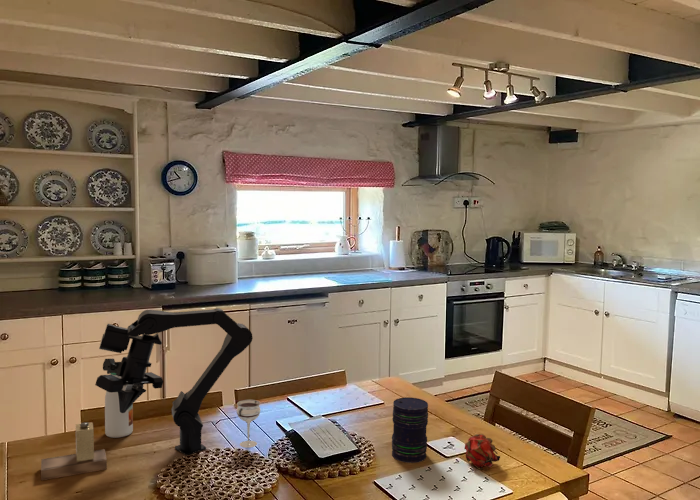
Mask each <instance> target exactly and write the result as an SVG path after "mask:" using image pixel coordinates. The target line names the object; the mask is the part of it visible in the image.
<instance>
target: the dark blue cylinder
mask: <svg viewBox="0 0 700 500" xmlns="http://www.w3.org/2000/svg"><path fill="white" fill-rule="evenodd" d="M392 405H393V406H392V407H393V409H392V423H393V429H392V430H393V431H392V436H391V449H392V451H391V456H392V458H394V459H395V460H396V461H399V462H402V463H407V464H414V463H420V462H423V461H424V460H426V459H427V449H428V436H427V426H428V423H429V419H428V418H429V403H428V401H426V400H424V399H421V398H418V397H405V396H404V397H399V398H396V399H394V400H393V403H392Z"/></svg>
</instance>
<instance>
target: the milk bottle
mask: <svg viewBox="0 0 700 500" xmlns="http://www.w3.org/2000/svg"><path fill="white" fill-rule="evenodd" d="M109 375H113V376H115V377H117V378H119V379H120V378H121V376H117V375H116V373H110V374H109ZM104 395H105V396H104V429H105V430H104V433H105V435H106V436H107V437H109V438H112V439H113V438H114V439H115V438H116V439H117V438H124V437H126V436H129V435H131V434H132V433H133V430H134V406H133V405H134V403H133V404H132V405H131V406H130V407H129V408H128V410H127V411H126V412H125V413H121V412H120V408H119V396H118V392H112V393H111V392H107V391H106V390H105V394H104Z"/></svg>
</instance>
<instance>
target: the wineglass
mask: <svg viewBox="0 0 700 500" xmlns="http://www.w3.org/2000/svg"><path fill="white" fill-rule="evenodd" d="M236 405H237V408H236V415H237V417H238V419H240V420H242V421H243V422H245V423H246V427H247V428H246V429H247V430H246V431H247V440H244V441H241V442H240V443H239V446H240V447H241V448H245V449H247V448H254V447H256V446H257V445H258V442H257V441H255V440H250V433H251V432H250V431H251V430H250V427H251V423H252V422H253V421H255V420H257V419H258V418H259V416H260V413H261V407H260V405H261V401H260V400H256V399H244V400H243V399H242V400H240V401H238V402H237V403H236Z"/></svg>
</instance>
